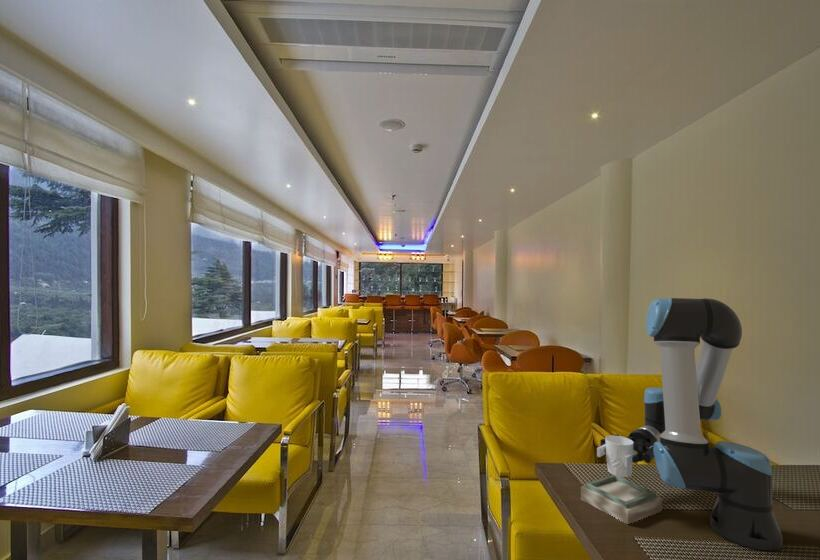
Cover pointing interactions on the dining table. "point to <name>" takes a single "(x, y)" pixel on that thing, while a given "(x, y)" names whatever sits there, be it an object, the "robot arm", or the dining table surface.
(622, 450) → the white cup
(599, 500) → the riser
